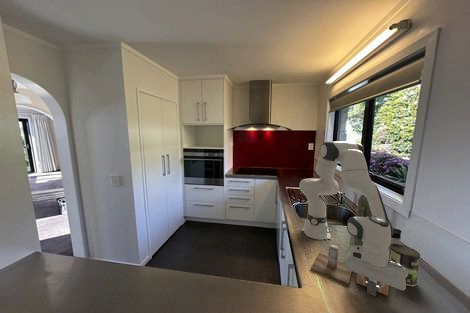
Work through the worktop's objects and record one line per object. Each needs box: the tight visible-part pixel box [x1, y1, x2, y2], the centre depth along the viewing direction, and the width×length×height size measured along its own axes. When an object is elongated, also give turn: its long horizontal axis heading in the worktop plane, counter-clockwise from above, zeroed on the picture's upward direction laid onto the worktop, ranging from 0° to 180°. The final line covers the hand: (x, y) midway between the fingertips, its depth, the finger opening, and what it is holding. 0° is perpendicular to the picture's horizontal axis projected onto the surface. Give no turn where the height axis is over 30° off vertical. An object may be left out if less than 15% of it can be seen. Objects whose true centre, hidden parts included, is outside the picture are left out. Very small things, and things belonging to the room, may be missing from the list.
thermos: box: [353, 194, 372, 246], centre depth 101 cm, size 9×12×35 cm
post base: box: [310, 244, 353, 287], centre depth 92 cm, size 16×16×12 cm
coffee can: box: [389, 243, 421, 287], centre depth 87 cm, size 10×10×14 cm
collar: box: [355, 273, 390, 297], centre depth 82 cm, size 15×11×5 cm
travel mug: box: [389, 227, 402, 258], centre depth 95 cm, size 6×7×20 cm
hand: (371, 287), depth 78 cm, fingers closed on collar, 3 cm apart
